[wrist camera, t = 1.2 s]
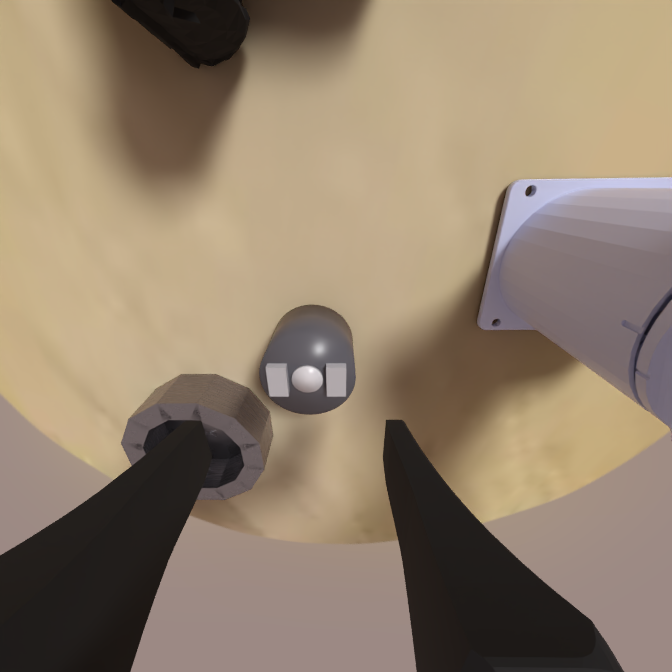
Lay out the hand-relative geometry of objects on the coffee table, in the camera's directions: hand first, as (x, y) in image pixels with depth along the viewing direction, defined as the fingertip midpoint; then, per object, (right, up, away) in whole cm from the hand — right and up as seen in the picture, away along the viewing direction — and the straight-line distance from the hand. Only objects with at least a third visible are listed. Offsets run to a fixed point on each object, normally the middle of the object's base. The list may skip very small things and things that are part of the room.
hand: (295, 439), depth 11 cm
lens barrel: (-8, -3, +10) cm, 13 cm away
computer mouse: (0, +4, +7) cm, 8 cm away
